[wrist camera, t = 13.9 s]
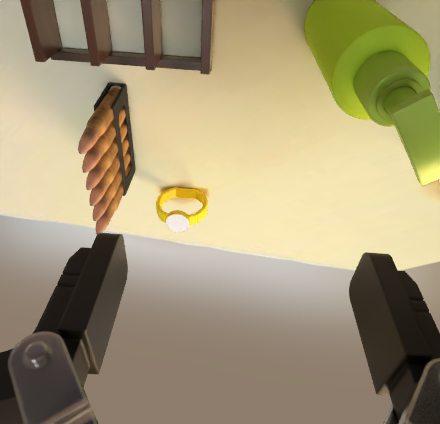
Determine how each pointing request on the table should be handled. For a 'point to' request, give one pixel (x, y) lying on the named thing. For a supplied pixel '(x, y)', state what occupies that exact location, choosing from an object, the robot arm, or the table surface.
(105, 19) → the slotted rack
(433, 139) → the soap dispenser
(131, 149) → the ammunition clip
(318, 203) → the table surface
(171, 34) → the table surface
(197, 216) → the watch
